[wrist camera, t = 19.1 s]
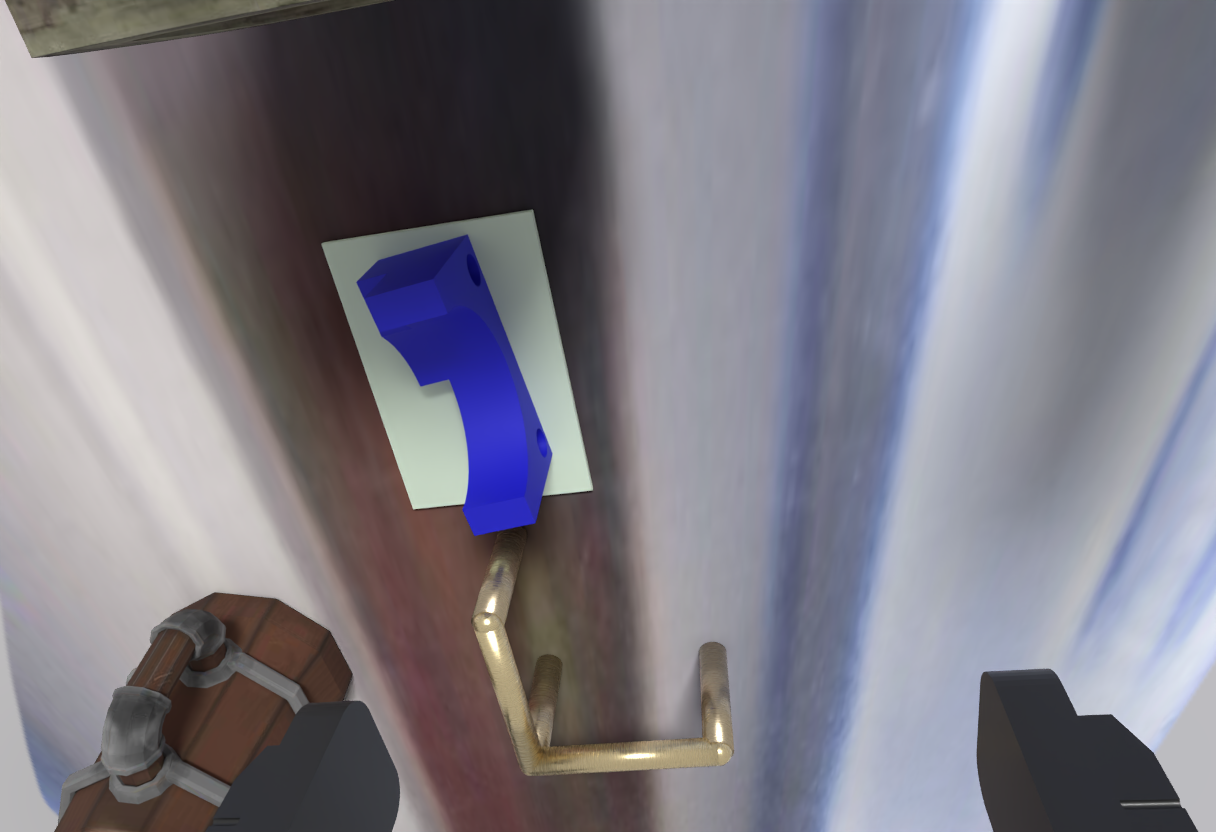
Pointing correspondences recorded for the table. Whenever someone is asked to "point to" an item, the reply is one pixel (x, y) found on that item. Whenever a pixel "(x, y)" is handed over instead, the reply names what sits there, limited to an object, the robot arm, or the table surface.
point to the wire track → (536, 717)
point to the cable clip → (466, 373)
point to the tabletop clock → (149, 20)
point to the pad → (430, 413)
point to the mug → (201, 714)
